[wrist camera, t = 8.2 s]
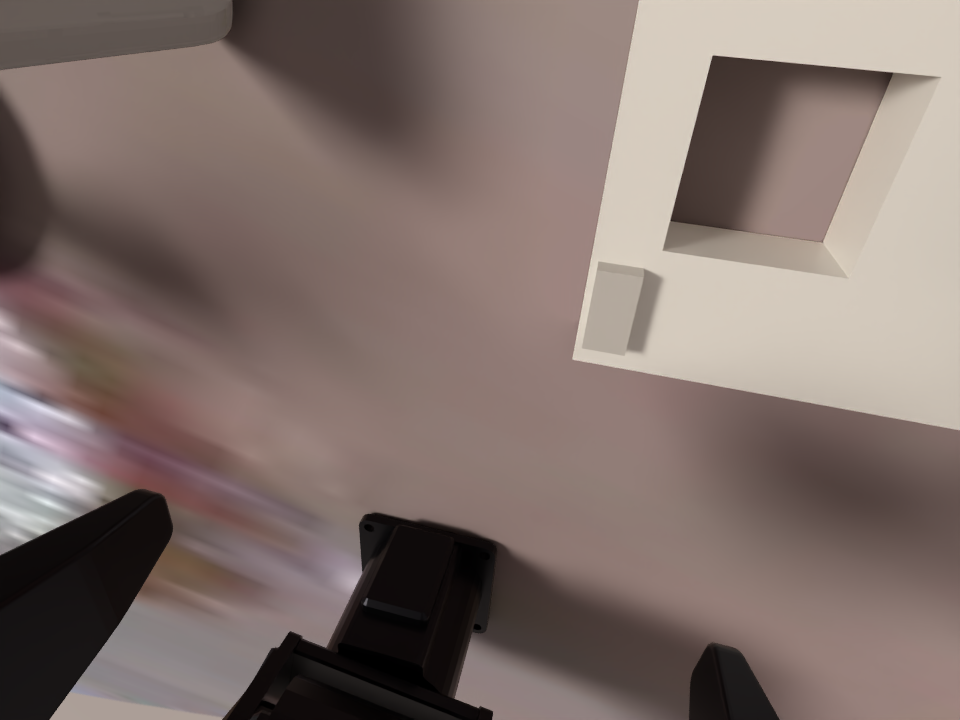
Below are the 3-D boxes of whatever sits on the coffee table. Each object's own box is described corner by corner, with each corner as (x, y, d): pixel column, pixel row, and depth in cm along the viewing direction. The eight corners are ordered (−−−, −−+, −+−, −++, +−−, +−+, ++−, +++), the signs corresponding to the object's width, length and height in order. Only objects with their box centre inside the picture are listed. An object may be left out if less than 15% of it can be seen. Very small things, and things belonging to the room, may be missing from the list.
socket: (1128, 414, 17) (1216, 489, 14) (579, 320, 19) (570, 370, 17) (1594, -117, 10) (1911, -154, 8) (668, -154, 13) (674, -190, 10)
